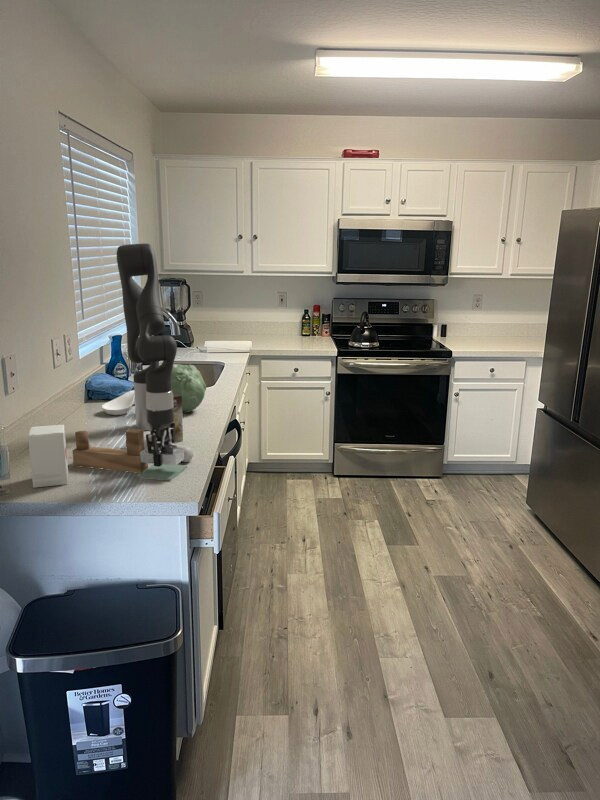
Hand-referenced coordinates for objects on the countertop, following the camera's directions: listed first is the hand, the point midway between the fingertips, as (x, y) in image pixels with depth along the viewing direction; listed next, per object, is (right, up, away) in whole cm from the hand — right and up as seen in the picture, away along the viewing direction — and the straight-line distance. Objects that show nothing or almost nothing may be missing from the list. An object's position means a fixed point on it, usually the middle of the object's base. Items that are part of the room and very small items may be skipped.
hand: (162, 462), depth 168 cm
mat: (0, -3, +1) cm, 3 cm away
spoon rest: (-31, +14, +69) cm, 76 cm away
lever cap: (0, 0, 0) cm, 1 cm away
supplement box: (-30, -5, -6) cm, 31 cm away
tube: (-5, +2, +12) cm, 14 cm away
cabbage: (-7, +13, +67) cm, 68 cm away
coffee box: (-5, +4, +29) cm, 30 cm away
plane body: (-17, -2, +5) cm, 17 cm away
